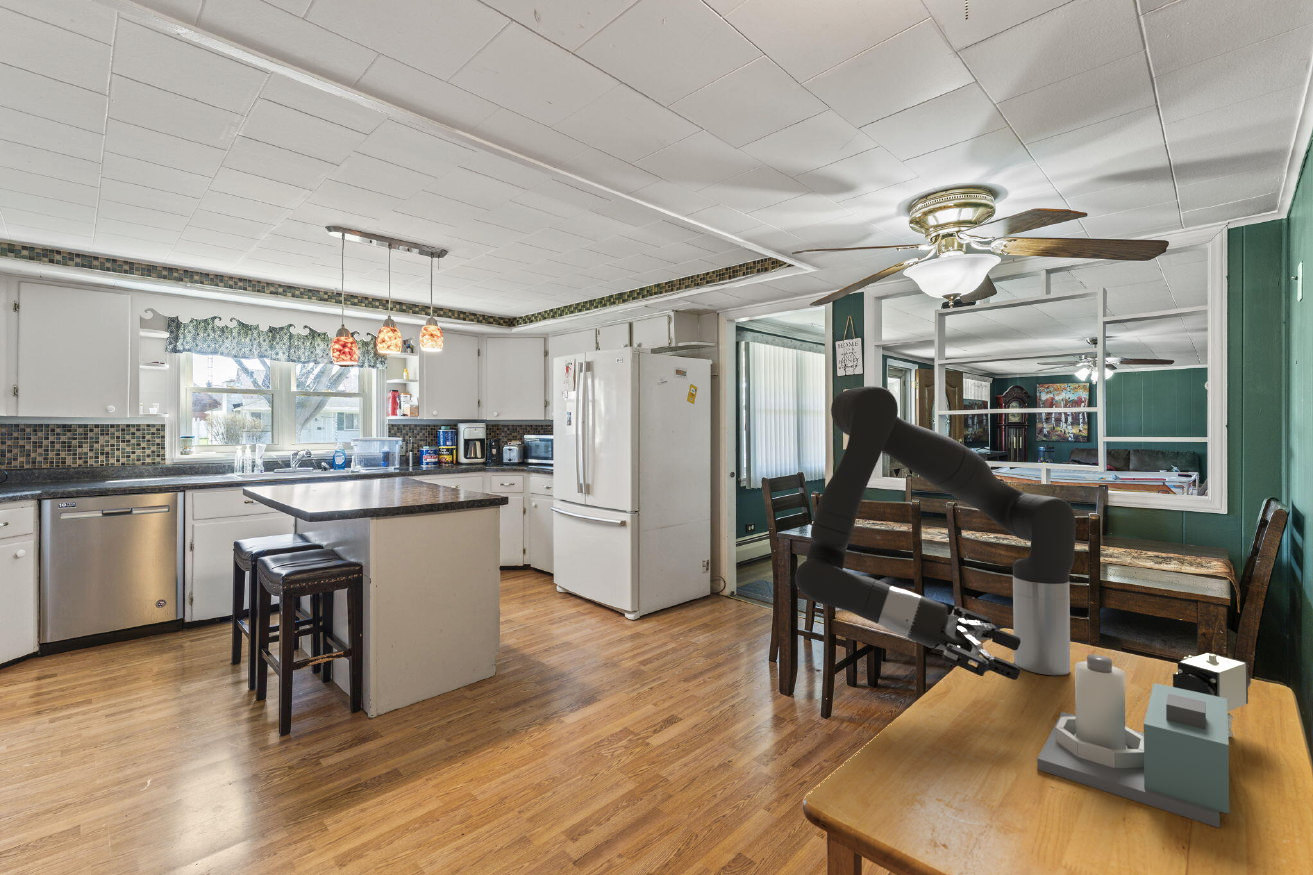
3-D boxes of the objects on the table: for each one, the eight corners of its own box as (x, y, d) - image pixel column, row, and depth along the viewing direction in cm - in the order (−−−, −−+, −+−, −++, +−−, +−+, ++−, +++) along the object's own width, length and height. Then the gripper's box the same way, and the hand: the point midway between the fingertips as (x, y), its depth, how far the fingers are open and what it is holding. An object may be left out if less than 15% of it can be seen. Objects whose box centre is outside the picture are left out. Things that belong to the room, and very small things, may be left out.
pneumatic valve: (1253, 732, 90) (1252, 653, 89) (1212, 751, 85) (1211, 667, 85) (1206, 717, 95) (1206, 642, 95) (1166, 733, 90) (1165, 654, 90)
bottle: (1078, 732, 88) (1077, 647, 88) (1129, 746, 84) (1129, 657, 83) (1070, 748, 83) (1069, 659, 83) (1124, 764, 79) (1124, 670, 79)
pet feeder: (1062, 719, 94) (1062, 647, 94) (1227, 763, 82) (1226, 679, 81) (1037, 769, 81) (1036, 684, 81) (1229, 831, 68) (1228, 730, 68)
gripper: (912, 617, 94) (1028, 664, 87) (924, 578, 105) (1027, 617, 98) (898, 656, 96) (1010, 704, 89) (912, 614, 108) (1011, 653, 101)
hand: (1019, 658), depth 94 cm, fingers open, 8 cm apart
